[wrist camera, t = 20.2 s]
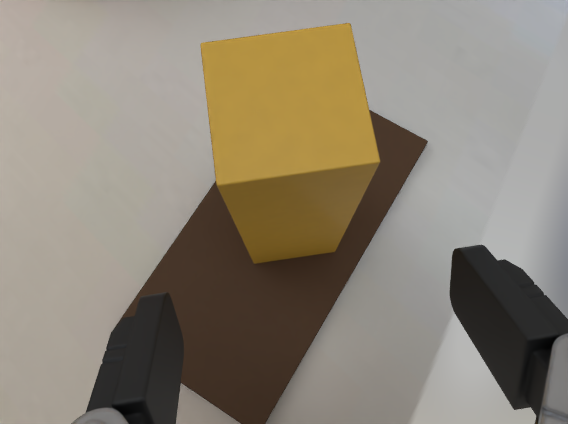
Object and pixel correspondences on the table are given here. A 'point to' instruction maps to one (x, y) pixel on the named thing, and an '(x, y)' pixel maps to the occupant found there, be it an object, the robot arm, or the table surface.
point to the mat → (264, 290)
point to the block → (289, 137)
